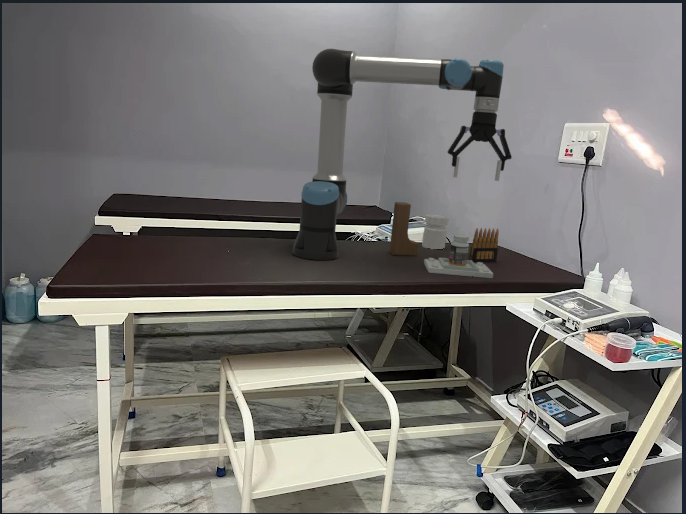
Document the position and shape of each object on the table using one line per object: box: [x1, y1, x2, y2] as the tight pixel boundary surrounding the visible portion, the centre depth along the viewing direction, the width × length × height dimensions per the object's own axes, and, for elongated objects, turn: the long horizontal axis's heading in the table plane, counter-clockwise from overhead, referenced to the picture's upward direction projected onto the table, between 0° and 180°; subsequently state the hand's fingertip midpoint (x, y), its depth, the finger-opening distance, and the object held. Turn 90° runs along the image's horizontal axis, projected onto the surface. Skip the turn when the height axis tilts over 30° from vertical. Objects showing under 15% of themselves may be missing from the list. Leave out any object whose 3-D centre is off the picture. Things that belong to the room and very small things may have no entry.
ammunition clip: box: [468, 227, 499, 263], centre depth 193 cm, size 11×2×12 cm, turn 114°
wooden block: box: [388, 201, 419, 257], centre depth 193 cm, size 9×4×18 cm, turn 104°
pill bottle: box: [448, 233, 470, 267], centre depth 177 cm, size 6×6×10 cm
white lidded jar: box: [421, 213, 450, 250], centre depth 210 cm, size 9×9×12 cm
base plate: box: [423, 257, 494, 279], centre depth 178 cm, size 20×12×2 cm, turn 89°
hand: (475, 179), depth 181 cm, fingers open, 13 cm apart
